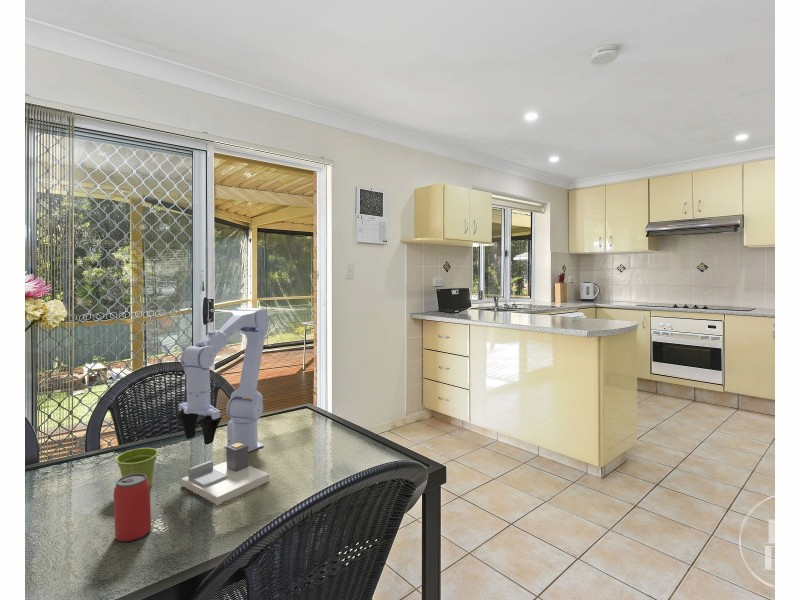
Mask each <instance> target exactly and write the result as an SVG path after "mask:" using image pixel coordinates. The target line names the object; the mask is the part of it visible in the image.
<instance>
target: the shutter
mask: <svg viewBox="0 0 800 600" xmlns="http://www.w3.org/2000/svg"><path fill="white" fill-rule="evenodd" d="M213 466H214V461H213V460H212V459H211V460H208V461H206V462H203V463H200V464H197V465H195V466H192V467H189V468H187V476H188V479H189V480H191V481H193V482H195V483H197V484H199V485H201V486H203V487H206V486H209V485H211V484H213V483H216V482H218V481H220V480H223V479H225V478H227V475H226V474H223V473H221V472H219V471H217V470H215V469H213Z"/></svg>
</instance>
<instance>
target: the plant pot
mask: <svg viewBox="0 0 800 600" xmlns="http://www.w3.org/2000/svg"><path fill="white" fill-rule="evenodd" d="M158 455H159V451H158V449H156V448H154V447H152V448H151V447H141V448H135V449H134V448H133V449H131V450H126V451H124V452H122V453H121V454H119V455H117V456H116V458H115V462H116V463H117V466H118V468H119V470H120V471H119V472H120V474H121V478H122V477H124V476H127V475H130V474H137V473H140V474H145V475H146V476H147V480H148V482H149V485H150V488H151V487H152V484H153V479H154V470H155V463H156V462H155V461H156V460H157V456H158Z"/></svg>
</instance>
